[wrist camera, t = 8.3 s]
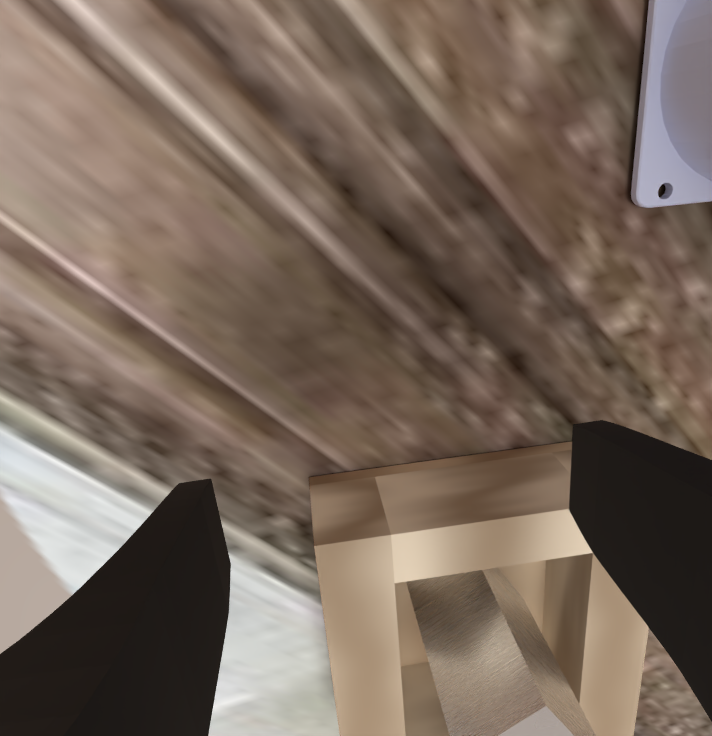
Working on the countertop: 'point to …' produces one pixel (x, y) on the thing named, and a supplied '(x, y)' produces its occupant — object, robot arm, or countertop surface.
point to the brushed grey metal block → (492, 659)
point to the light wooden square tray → (459, 555)
